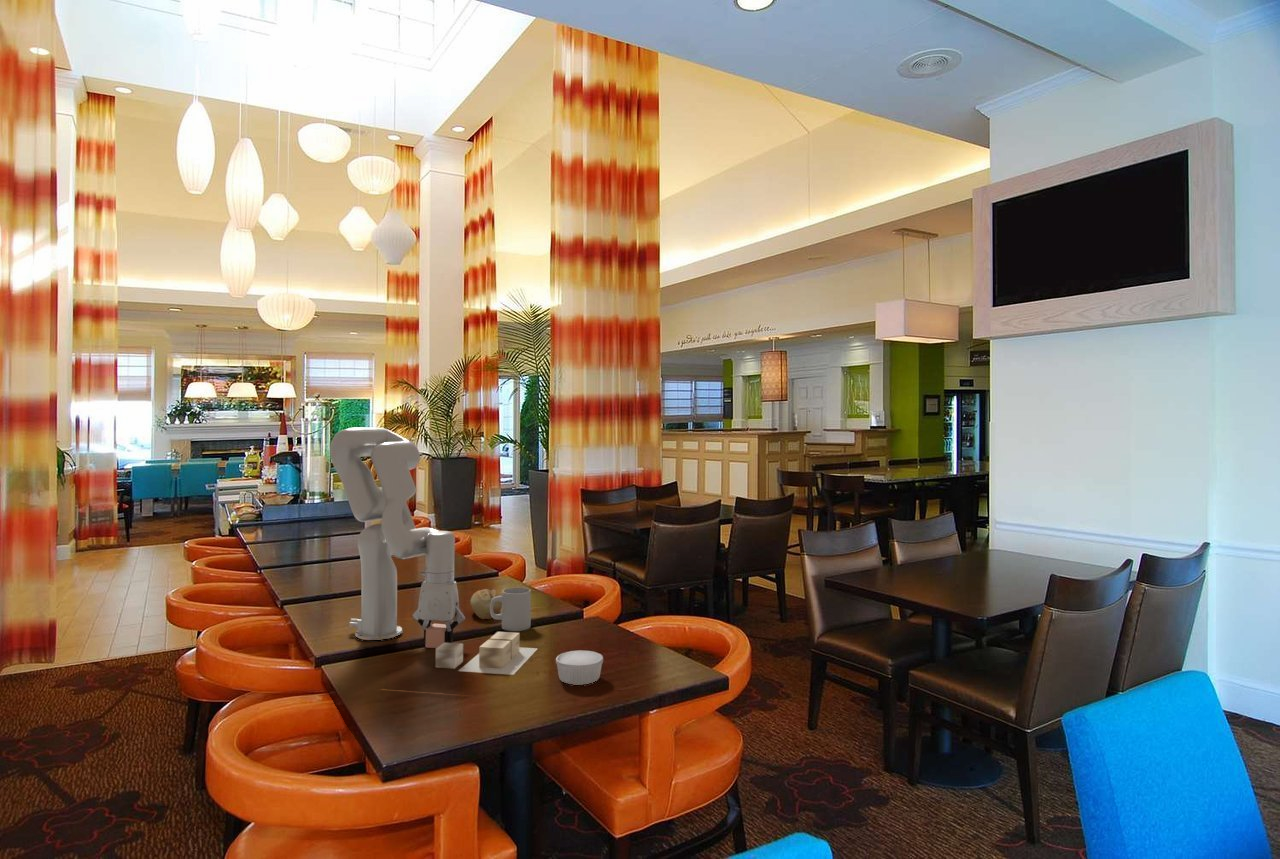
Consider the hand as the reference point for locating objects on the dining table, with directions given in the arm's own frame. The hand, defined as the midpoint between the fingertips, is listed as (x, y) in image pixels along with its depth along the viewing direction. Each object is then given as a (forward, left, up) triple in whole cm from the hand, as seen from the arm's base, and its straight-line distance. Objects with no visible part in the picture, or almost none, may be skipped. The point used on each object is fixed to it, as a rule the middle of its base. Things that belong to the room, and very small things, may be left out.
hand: (438, 643), depth 191 cm
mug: (+13, +20, -1) cm, 24 cm away
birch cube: (+9, -14, -1) cm, 17 cm away
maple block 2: (+20, -5, 0) cm, 21 cm away
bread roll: (+1, +32, -1) cm, 32 cm away
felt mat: (+20, -8, -1) cm, 22 cm away
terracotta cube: (0, 0, -1) cm, 1 cm away
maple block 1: (+20, -12, 0) cm, 24 cm away
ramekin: (+43, -17, -1) cm, 47 cm away
